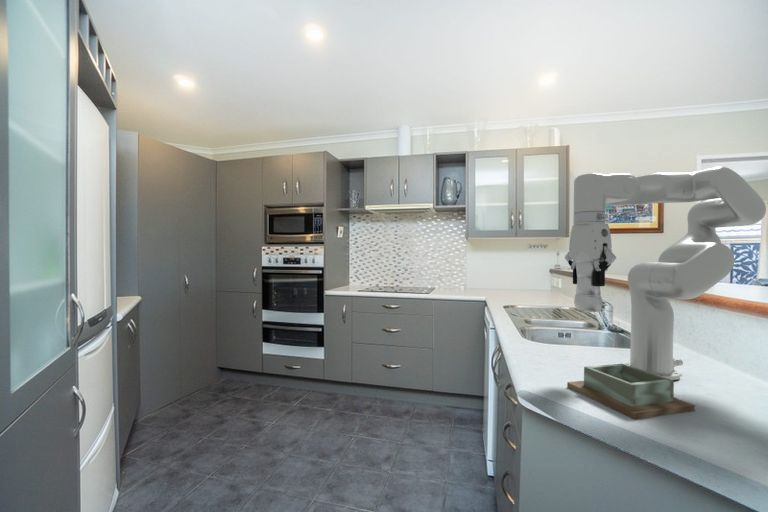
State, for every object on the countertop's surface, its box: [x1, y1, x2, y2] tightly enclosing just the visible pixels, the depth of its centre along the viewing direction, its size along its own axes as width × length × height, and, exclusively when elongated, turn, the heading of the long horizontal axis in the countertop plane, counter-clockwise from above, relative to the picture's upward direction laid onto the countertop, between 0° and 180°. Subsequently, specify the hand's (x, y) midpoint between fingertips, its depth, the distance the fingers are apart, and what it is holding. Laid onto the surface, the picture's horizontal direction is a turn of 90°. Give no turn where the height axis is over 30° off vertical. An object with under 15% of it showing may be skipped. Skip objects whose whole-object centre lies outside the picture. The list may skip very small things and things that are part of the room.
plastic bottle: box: [573, 251, 603, 313], centre depth 93 cm, size 6×7×20 cm
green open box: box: [566, 363, 696, 420], centre depth 78 cm, size 17×17×6 cm
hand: (588, 284), depth 93 cm, fingers closed on plastic bottle, 6 cm apart
